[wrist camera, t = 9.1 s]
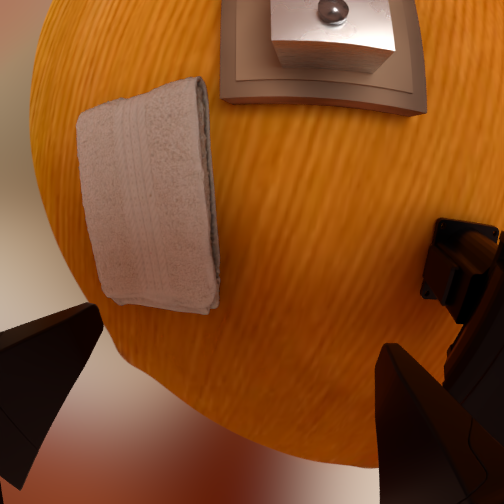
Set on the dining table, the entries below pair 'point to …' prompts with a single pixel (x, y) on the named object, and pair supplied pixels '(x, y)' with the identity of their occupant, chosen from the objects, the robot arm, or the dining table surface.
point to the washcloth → (152, 197)
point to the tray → (318, 80)
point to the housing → (332, 34)
